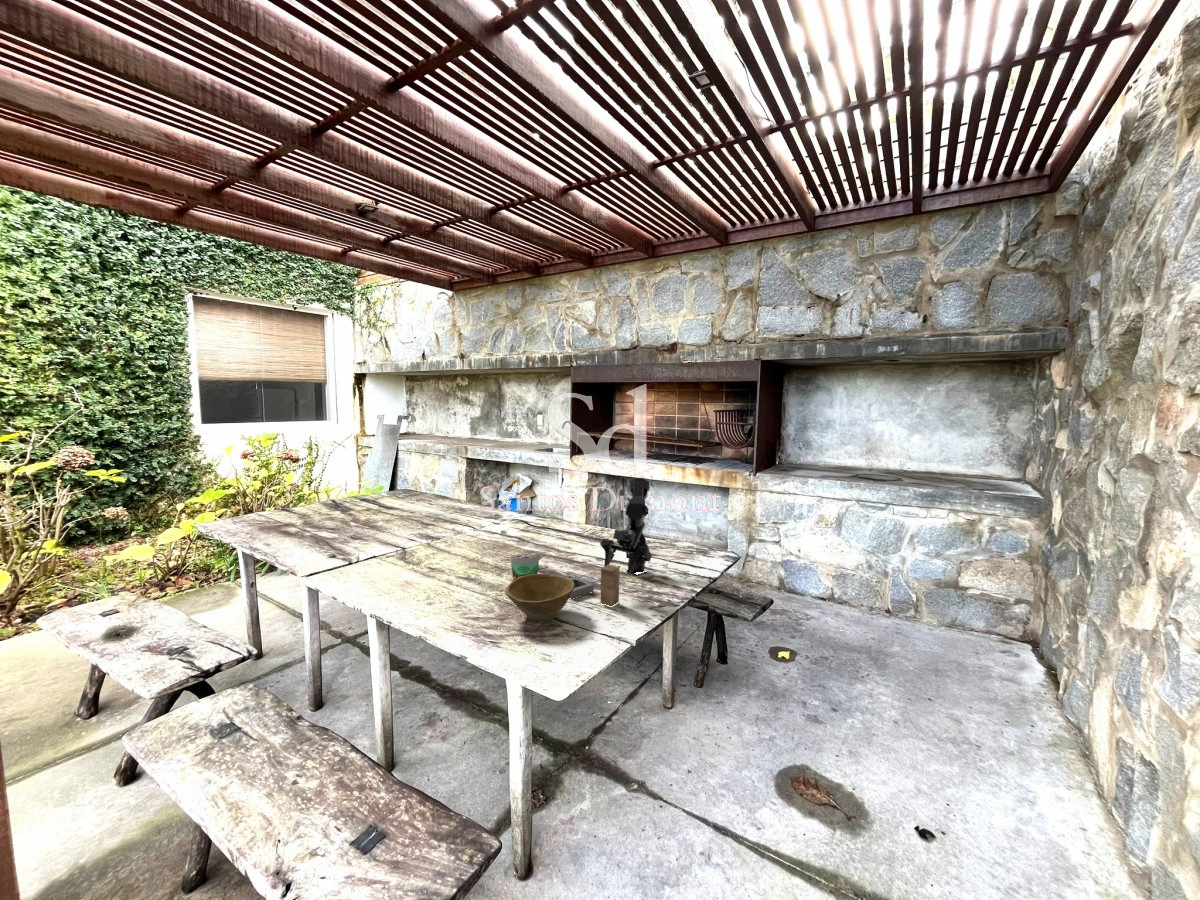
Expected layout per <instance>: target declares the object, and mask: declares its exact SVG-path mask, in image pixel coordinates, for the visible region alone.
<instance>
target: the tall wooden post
mask: <svg viewBox="0 0 1200 900" xmlns="http://www.w3.org/2000/svg"><path fill="white" fill-rule="evenodd" d="M619 596H620V567H619V566H616V565H611V564H608V565H606V566H604V565H603V567H601V568H600V604H601V603H602V604H606V605H609V606H613V605H614V604H616V603H617V602H620V599H619V598H620V597H619Z"/></svg>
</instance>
